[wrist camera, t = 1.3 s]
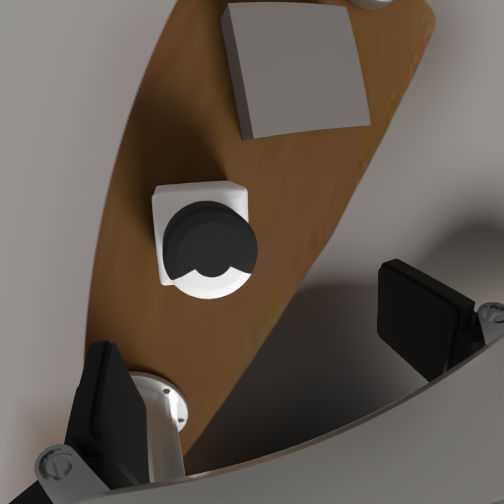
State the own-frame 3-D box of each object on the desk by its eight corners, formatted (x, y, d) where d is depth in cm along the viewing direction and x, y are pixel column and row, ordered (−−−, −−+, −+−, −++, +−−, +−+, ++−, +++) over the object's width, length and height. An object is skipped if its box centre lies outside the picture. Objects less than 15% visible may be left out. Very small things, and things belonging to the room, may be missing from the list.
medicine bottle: (154, 185, 28) (147, 204, 17) (229, 179, 30) (269, 195, 19) (160, 258, 30) (161, 317, 19) (232, 251, 32) (269, 303, 21)
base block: (349, 126, 31) (370, 124, 28) (242, 140, 29) (253, 138, 25) (327, 18, 27) (345, 6, 23) (220, 20, 25) (228, 3, 21)
